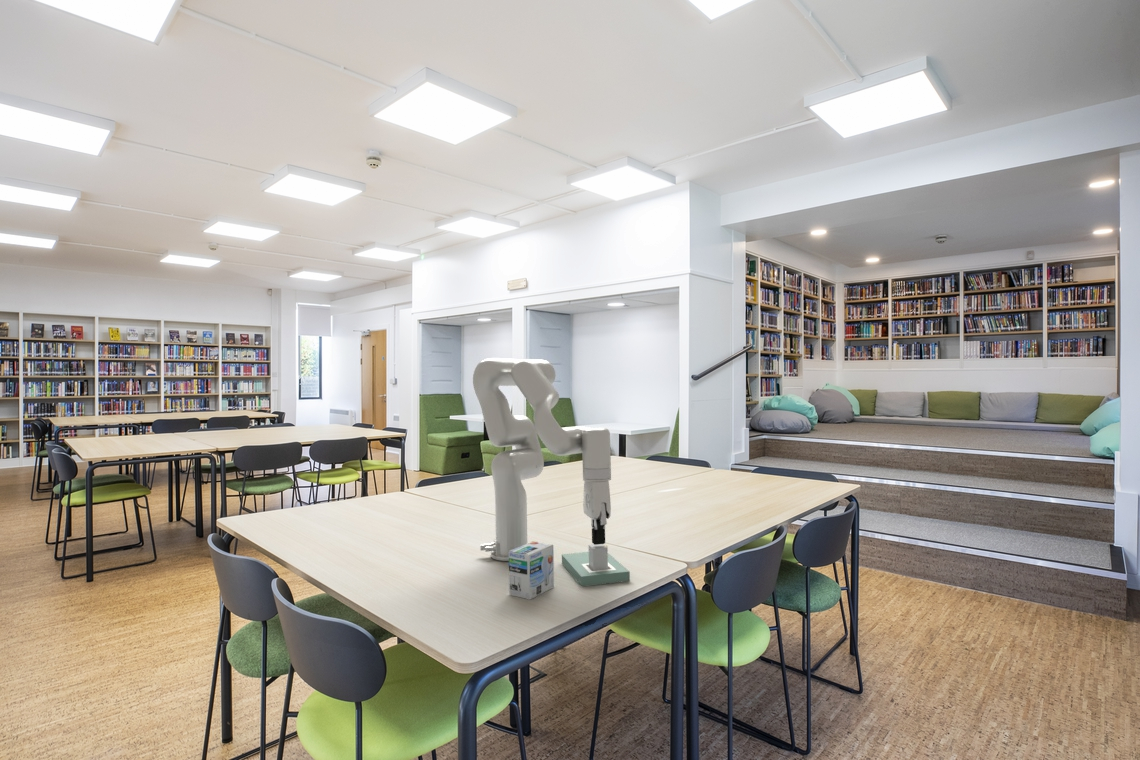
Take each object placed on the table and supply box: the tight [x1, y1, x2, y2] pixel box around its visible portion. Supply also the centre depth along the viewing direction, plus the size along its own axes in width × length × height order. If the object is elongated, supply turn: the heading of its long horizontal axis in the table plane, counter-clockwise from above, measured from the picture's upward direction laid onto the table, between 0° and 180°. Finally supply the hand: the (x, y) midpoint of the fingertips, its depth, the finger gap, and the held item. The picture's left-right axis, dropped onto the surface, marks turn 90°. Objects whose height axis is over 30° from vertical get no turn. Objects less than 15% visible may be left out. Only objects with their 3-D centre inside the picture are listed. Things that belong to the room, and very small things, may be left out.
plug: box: [588, 543, 609, 571], centre depth 149 cm, size 4×4×8 cm
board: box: [561, 551, 631, 587], centre depth 153 cm, size 13×20×2 cm, turn 15°
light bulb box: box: [508, 541, 555, 600], centre depth 139 cm, size 11×7×11 cm, turn 148°
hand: (598, 543), depth 149 cm, fingers closed
